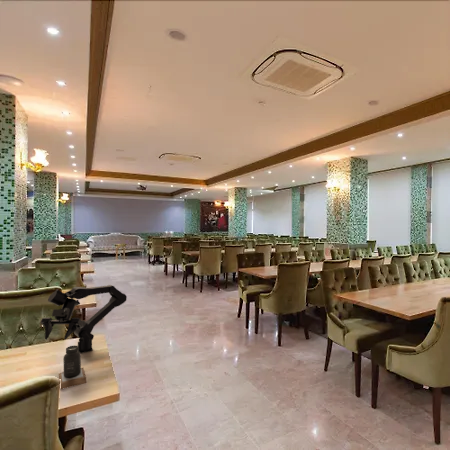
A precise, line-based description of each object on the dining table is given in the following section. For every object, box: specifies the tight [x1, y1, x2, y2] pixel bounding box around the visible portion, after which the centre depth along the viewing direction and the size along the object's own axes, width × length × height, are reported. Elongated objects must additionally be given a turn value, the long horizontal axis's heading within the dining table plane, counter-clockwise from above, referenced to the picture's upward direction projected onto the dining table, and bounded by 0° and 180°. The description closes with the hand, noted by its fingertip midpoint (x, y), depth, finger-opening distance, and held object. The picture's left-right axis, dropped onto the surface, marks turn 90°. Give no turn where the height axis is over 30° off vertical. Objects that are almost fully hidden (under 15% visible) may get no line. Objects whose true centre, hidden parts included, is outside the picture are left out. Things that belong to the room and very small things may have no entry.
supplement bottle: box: [62, 345, 82, 378], centre depth 130 cm, size 7×7×12 cm
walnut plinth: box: [58, 367, 87, 390], centre depth 130 cm, size 10×10×3 cm
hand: (55, 339), depth 141 cm, fingers open, 9 cm apart
